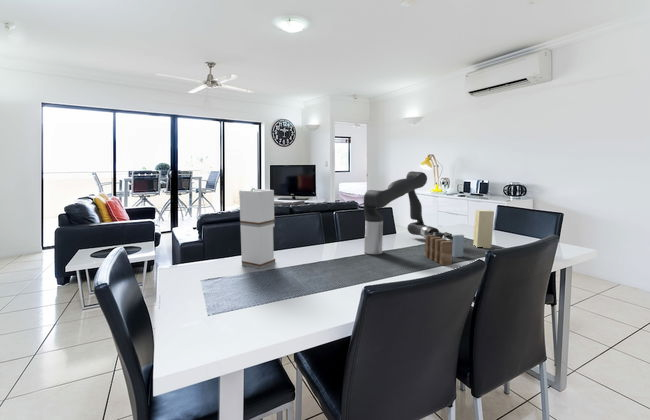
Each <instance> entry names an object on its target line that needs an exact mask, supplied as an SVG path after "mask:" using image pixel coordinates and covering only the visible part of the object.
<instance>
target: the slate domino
mask: <svg viewBox="0 0 650 420" xmlns="http://www.w3.org/2000/svg"><path fill="white" fill-rule="evenodd" d="M452 236H453V240H452V242H453V243H452V257H453V258H461V257H464V245H465V235H464V234H452Z"/></svg>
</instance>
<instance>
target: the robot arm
mask: <svg viewBox="0 0 650 420" xmlns="http://www.w3.org/2000/svg"><path fill="white" fill-rule="evenodd" d="M427 180H428V176H427V174H426V173H425V172H422V171H414V170H413V171H412V170H411V171H409V172H407V174H406V177H405V178H401V179H397V180H395V181H394V180H393V182H391V183H390V184H389V185H388V186H387V189H384V190H376V189H375V190H373V189H369V190H366V191H365V192H364V196H363V214H364V218H365V221H364V222H365V223H364V225H365V227H364V229H365V230H364V250H363V251H364V254H368V255H381V254H383V240H384V239H383V238H384V237H383V234H384V233H383V232H384V231H383V230H384V229H383V228H384V226H383V225H384V216H383V215H382V214H381V213H379V212H378V211H377V209H383V208H384V207H386V206H387V205H389V204H390V203H391V202H393V201H395V200H396V199H399V198H401V197H404V196H405V195H406V194H407V195H408V196H407V197H408V200H409V218H410V219H411V220H413V221H414V220H415V221H416V222H410V223H409V224H408V225H407V228H406V229H407V231H408V233H409V234H411V235H414V236H421V237H423V238H424V239H426V236H428V235H436V236H437V237H441V238H442V239H446V240H448V241H453V234H452V233H449V232H447V231H446V232H442V231H440V230H439V229H438V228H437V227H434V226H431V225H426V224H425V222H424V219H423V216H422V215H423V212H422V211H423V210H422V209H423V208H422V203H421V201H420V199H419V197H418V196H417V193H416V191H415V190H417V189H420V188H423V187H425V185H426V184H427V182H428V181H427Z"/></svg>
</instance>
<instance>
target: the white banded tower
mask: <svg viewBox="0 0 650 420" xmlns="http://www.w3.org/2000/svg"><path fill="white" fill-rule="evenodd" d="M238 191H239V192H238V194H239V195H238V196H239V221H240V226H239V227H240V246H241V247H240V249H241V255H240V256H241V266H244V265H245V267H248V266H250V267H249V268H253V267H255V269H258V268H259V270H261V268H262V269H264V268H266V266H267V267H268V266H271V264H272V265H274V264H276V258H274V255H275V254H274V252H275V251H274V228H275V227H276V226H275V189H260V188H259V189H257V188H254V189H253V190H238Z"/></svg>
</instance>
